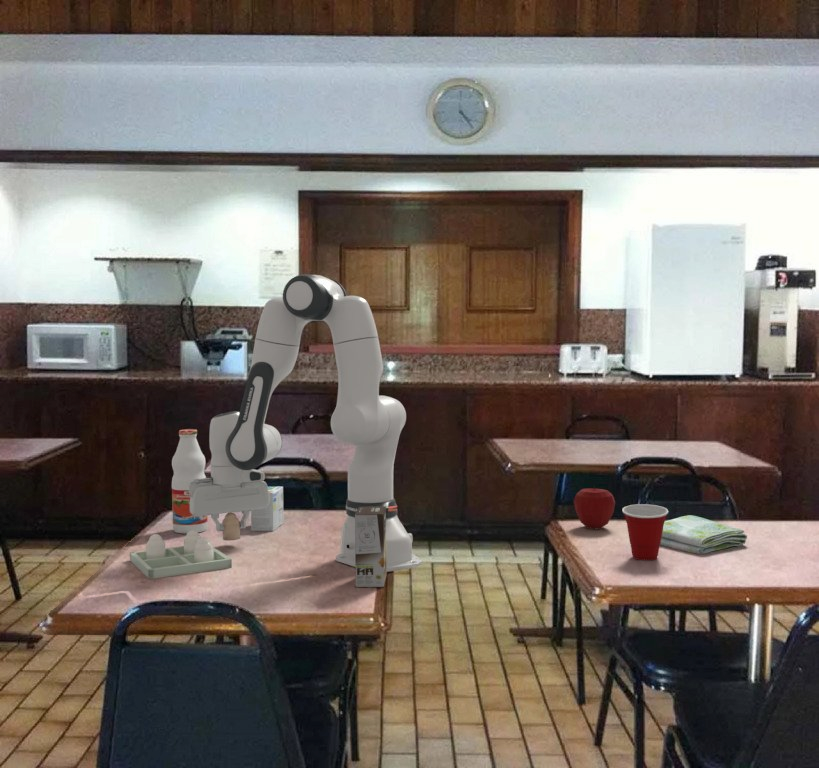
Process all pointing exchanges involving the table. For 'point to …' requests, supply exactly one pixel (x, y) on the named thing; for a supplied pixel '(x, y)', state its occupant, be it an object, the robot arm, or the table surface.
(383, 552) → the coffee box
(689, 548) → the towel
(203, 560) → the cream egg
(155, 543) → the cream egg
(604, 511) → the apple
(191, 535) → the cream egg
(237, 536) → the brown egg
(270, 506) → the light bulb box
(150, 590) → the table surface
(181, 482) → the fruit juice
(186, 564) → the egg tray
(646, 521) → the plastic cup
